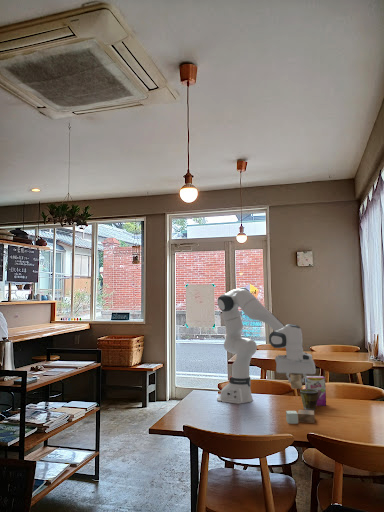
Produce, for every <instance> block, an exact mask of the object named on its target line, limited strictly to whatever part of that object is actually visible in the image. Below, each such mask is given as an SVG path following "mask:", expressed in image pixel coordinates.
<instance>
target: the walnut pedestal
mask: <svg viewBox="0 0 384 512" xmlns="http://www.w3.org/2000/svg"><path fill="white" fill-rule="evenodd" d="M297 413H298V423H308V424H309V423H310V424H315V422H316V421H315V419H316V418H315V410H306V409H298V411H297Z"/></svg>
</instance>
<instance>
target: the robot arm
mask: <svg viewBox="0 0 384 512" xmlns="http://www.w3.org/2000/svg"><path fill="white" fill-rule="evenodd" d="M216 301H217V306H218V308H219V309H220V310H221V315H222V319H223V322H224V326H225V329H226V336H225V337H226V339H224V343H223V347H224V350H225V351H227V352H228V353H230V354H233V355H236V356H235V357H236V358H235V360H234V361H233V363H231V376H230V377H229V378H228V383H227V384H226V385H225V386H224V387H222V389H221V390H220V395H218V396H217V398H216V401H217V400H218V401H217V402H221V401H222V403H231V404H238V405H240V404H243V403H244V404H245V403H251V402H253V401H254V399H253V395H252V389H251V386H252V385H251V384H252V383H251V376H250V375H251V374H250V365H251V360H252V357H253V356H254V355H255V354H256V352H257V348H258V346H257V343H256V341H255V340H253V339H252V338H248V337H242V334H241V333H242V330H243V328H244V324H243V321H242V318H241V313H240V310H239V308H240V309H241V310H242V313H244V314H245V316H247V317H248V318H249V319H250V320H253V321H259V322H262V323H265V324H267V325H268V326H269V327H270V328H271V329H272V332H270V333H269V336H268V342H269V344H270V345H271V347H272V348H274V349H284V348H285V353H286V354H278V355H276V356H275V358H274V359H275V363H276V367H275V371H276V373H277V374H285V376H286V378H287V379H288V383H291V376H290V374H291V373H293V374H301V375H302V376H303V378H301V383H303V384H304V383H305V377H306V376H307V375H315V374H316V373H317V372H316V371H317V369H316V363H315V360H314V359H313V355H312V354H311V353H308V352H306V351H304V348H303V341H304V339H303V331H302V329H301V327H300V326H299V325H297V324H292V323H290V324H289V323H288V324H286V325H284V323H282V322H281V320H279V319H278V317H277V316H275V315H274V314H273V313H272V312H270V311H269V310H268V309H267V308H266V307H265V306H264V305H263V304H262V303H261V302H260V300H258V298H257V297H256V296H255V295H254V294H253V293H251V292H250V290H248V288H247V287H244V286H240V287H237V288H235V289H231V290H229V291H227V292H226V293H224V294H221V295H220V296H218V298H217V300H216Z"/></svg>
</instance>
